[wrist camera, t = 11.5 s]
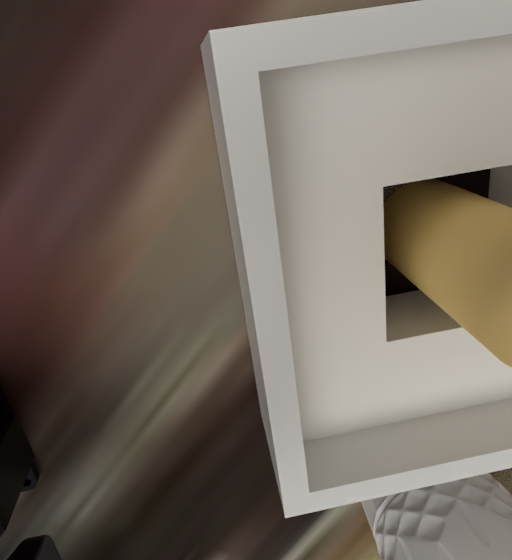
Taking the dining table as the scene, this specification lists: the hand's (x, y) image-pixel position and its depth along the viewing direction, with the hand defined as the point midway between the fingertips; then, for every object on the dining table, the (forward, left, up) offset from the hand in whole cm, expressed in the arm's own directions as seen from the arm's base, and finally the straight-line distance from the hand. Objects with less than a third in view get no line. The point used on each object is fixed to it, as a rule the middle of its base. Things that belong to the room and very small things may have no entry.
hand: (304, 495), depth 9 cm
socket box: (+8, 0, -12) cm, 14 cm away
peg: (+8, 0, -12) cm, 14 cm away
